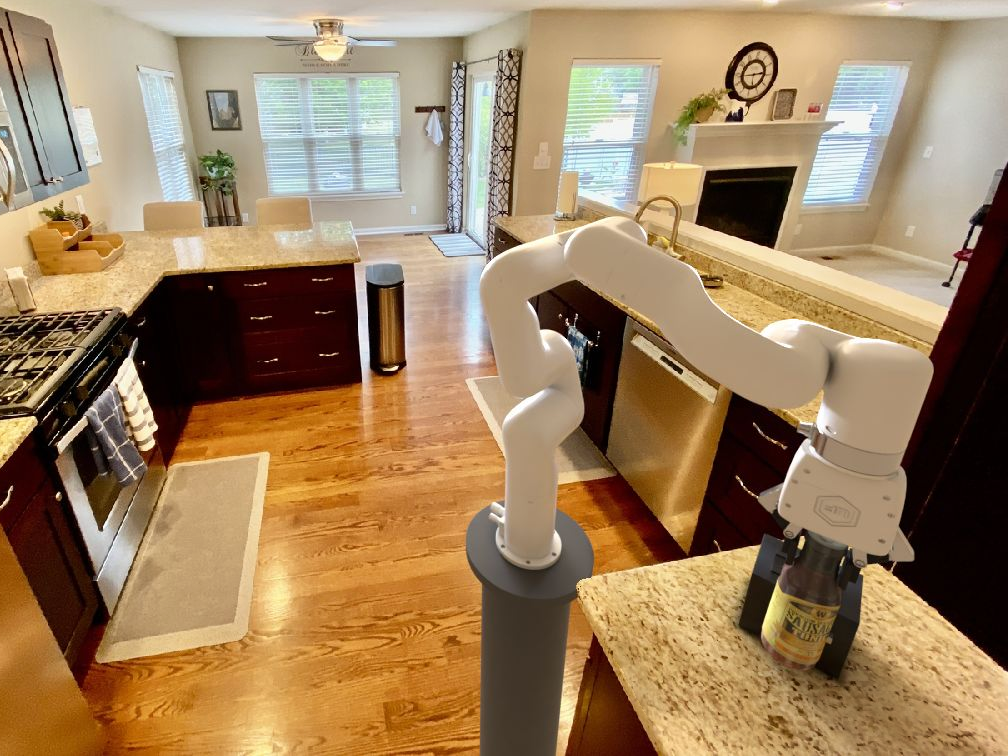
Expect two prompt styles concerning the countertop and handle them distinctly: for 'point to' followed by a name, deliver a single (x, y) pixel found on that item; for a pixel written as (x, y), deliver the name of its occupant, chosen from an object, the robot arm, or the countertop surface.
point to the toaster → (762, 592)
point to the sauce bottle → (804, 603)
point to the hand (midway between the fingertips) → (815, 568)
